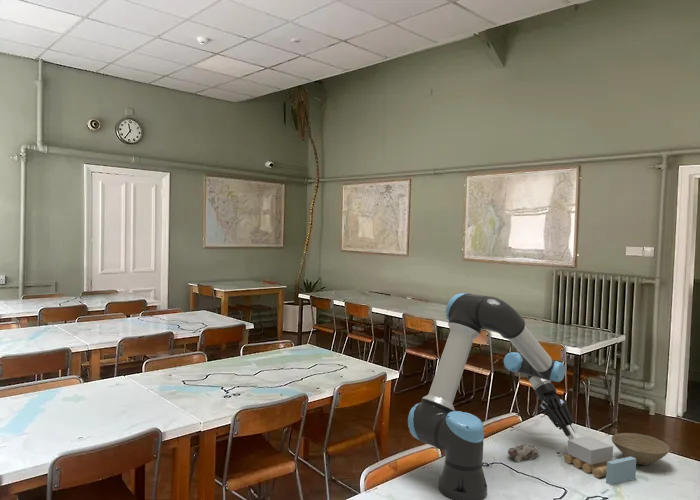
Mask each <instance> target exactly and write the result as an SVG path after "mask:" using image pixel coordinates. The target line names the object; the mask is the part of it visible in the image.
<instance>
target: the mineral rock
mask: <svg viewBox="0 0 700 500" xmlns="http://www.w3.org/2000/svg"><path fill="white" fill-rule="evenodd" d="M507 453H508V456H509V457H510V458H511V459H513V460H514V461H515V462H516V463H520V461H522V460H523V461H526V460H534V459H536V456H538V455H540V451H538V449H537V448H536V446H535V445H530V444H527V443H526V444H520V445H517V446H515V447H511V448H509V449H508V450H507Z"/></svg>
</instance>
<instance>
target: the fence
mask: <svg viewBox="0 0 700 500" xmlns="http://www.w3.org/2000/svg"><path fill="white" fill-rule="evenodd" d="M636 469H637V463H636V458H633V457H631V456H630V457H622V458H617V459H613V460H612V461H608V462H607V471H606V476H605V483H606V484H608V485H610V486H613V485H617V484H621V483H625V482H629V481H633V480H636V476H637V475H636V471H637V470H636Z"/></svg>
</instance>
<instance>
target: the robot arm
mask: <svg viewBox="0 0 700 500" xmlns="http://www.w3.org/2000/svg"><path fill="white" fill-rule="evenodd" d="M445 308H446V309H445V313H446V314H445V317H446V319H447V321H448V322H447V326H448V329H449V333H448V336H447V339H446V343H445V346H444V348H443V351H442V353H441V357H440V360H439V363H438V365H437V369H436V371H435V374H434V377H433V380H432V383H431V386H430V389H429V392H428V394H427V395H425V396H422V398H421V402H419V403H416V404H414V405H413V406H412V407H411V409H410V410H409V413H408V417H407V426H408V429H409V433H410V434H411V436H412V437H413V438H414V439H416V440H419V441H420V442H421V443H424V444H426V445H430V446H431V447H434V448H436V449H438V450H442V451H444V453H445V454H444V465H443V467H442V470H441V474H440V476H439V477H438V490H439V492H440V493H441V494H442V495H444V496H445V497H447V498H449V499H452V500H484V499H485V498H487V496H488V484H487V480H486V477H485V474H484V473H485V472H484V469H483V463H484V462H483V459H484V439H485V433H484V431H485V430H484V424H483V422H482V420H481V419H480V418H479V417H478V416H476V415H474V414H472V413H469V412H466V411H465V412H463V411H459V410H456V409H455V407H454V405H453V403H454V401H455V398H456V393H457V391H458V389H459V385H460V382H461V379H462V377H463V373H464V370H465V367H466V364H467V360H468V357H469V356H470V355H469V354H470V352H471V348H472V347H473V342H474V340H475V339H476V338H478V337H480V335H481V333H482V330H486V331H487V330H488V331H492V332H495V333H496V334H497V333H498V334H499V335H500V336H501V337H502V338H503V339H506V340H508V341H509V342H510V343H511V344H512V345H513V347H514V348H515V349H516V350H517V351H518V352H516V351H515V352H513V351H512V352H508V353H507V354H505V356H504V358H503V365H504V367H505V369H506V370H508V371H509V372H512V373H517V374H518V373H519V374H521V375H525V376H526V378H527V380H528V382H529V383H530V385H531V387H532V388H533V390H534V393H535V394H536V396H537V398H538V400H541V404H540V405H539V406H538V407H539V408H540V409H541V410H542V411H543V413H544V414H545V415H546V416H547V417H548V419H549V420H550V421H551V423H552V424H553V425H554V427H556V428H558V429H559V430H562V432H563V434H564V435H565V436H566V437H567V440H571V439H576V438H578V437H577V435H576V432H575V430H574V428H573V426H572V424H573V423H574V420H573V417H572V415H571V412H570V410H569V407H568V401H567V400H566V399H561V398H560V396H558V394H557V389H556V387H555V386H554V384H553V383H552V382H557V383H560V382H562V381H563V380H564V377H565V374H566V366H565V364H564V363H563V362H561V361H558V360H553V358H552V357H551V356H550V355H549V353H548V352H547V351H546V350H545V349H544V347H543V346H542V345H541V343H540V342H539V341H538V340H537V339H536V337H534V334H532V333H531V331H530V330H529V328H527V326H526V321H525V318H524V317H522V316H521V314H520V312H518V311H517V310H516V309H515V308H514V307H513V306H512V305H510V304H509V303H507V302H506V301H504V300H502V299H500V298H498V297H495V296H490V295H481V294H472V293H467V292H466V293H461V292H460V293H457V294H455V295H453V296H452V297H451V298H450V299H449V301H448V303H447V305H446V307H445Z"/></svg>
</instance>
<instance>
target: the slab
mask: <svg viewBox="0 0 700 500" xmlns="http://www.w3.org/2000/svg"><path fill="white" fill-rule="evenodd" d="M567 454H569V455H571V456H573V457H575V458H578V459H580V460H582V461H584V462H586V463H588V464H590V465H593V464H597V463H602V462H606V461H610V460H612V461H613V460H614V458H613V455H614V446H613V445H611V444H609V443H607V442H604V441H601V440H599V439H597V438H595V437H592V436H589V435H588V436H581V437H577V438H576V439H571V440H569V439H567ZM567 454H566V455H567Z"/></svg>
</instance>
